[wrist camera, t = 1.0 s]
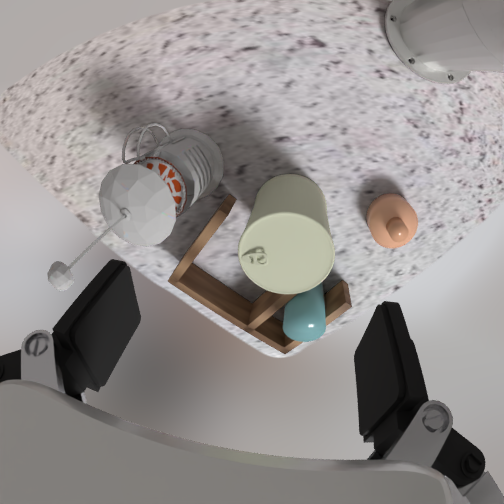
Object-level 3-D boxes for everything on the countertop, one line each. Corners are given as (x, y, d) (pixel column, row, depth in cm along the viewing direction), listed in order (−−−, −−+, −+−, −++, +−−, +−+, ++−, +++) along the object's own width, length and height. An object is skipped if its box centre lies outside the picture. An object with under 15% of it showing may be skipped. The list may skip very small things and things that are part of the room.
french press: (162, 203, 39) (47, 331, 18) (144, 123, 33) (-19, 197, 12) (229, 197, 37) (142, 350, 16) (215, 108, 31) (63, 160, 10)
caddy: (229, 194, 37) (219, 209, 32) (347, 284, 41) (351, 306, 37) (179, 261, 44) (167, 281, 39) (287, 331, 48) (284, 354, 44)
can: (249, 177, 35) (226, 218, 25) (323, 170, 33) (334, 209, 23) (260, 242, 40) (245, 299, 30) (328, 237, 38) (335, 295, 28)
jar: (303, 267, 41) (303, 305, 34) (331, 288, 42) (334, 326, 35) (279, 290, 44) (274, 328, 37) (306, 308, 45) (305, 347, 38)
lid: (390, 183, 32) (402, 197, 28) (418, 214, 34) (432, 232, 30) (356, 216, 36) (363, 235, 31) (386, 245, 37) (395, 265, 33)
